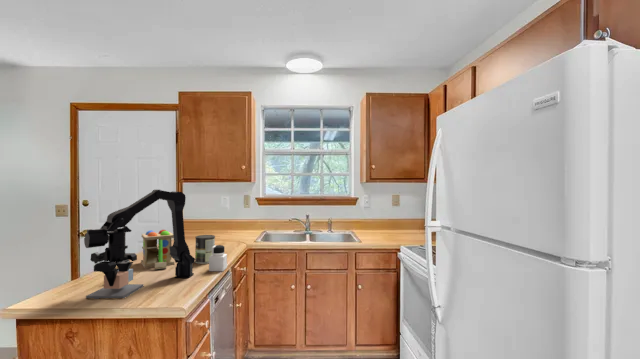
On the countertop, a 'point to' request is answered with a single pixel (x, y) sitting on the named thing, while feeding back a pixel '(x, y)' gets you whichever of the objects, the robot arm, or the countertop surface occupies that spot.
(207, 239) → the coffee can
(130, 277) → the slate-grey brick
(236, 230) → the countertop surface
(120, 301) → the countertop surface
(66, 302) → the countertop surface
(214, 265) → the medicine bottle
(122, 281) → the terracotta brick
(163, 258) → the pounding bench toy
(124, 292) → the base plate
